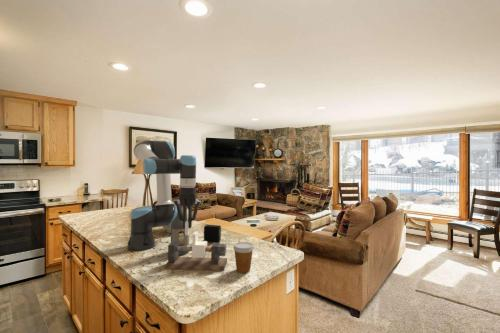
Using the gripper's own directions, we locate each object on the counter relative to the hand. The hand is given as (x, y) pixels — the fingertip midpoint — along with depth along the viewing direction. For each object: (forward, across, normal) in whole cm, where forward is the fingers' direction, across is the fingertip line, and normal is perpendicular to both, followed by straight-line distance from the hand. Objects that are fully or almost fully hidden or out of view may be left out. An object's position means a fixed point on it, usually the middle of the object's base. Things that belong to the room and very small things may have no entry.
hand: (187, 234), depth 121 cm
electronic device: (+16, +5, +37) cm, 40 cm away
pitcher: (+16, -27, +58) cm, 65 cm away
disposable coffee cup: (+15, +28, -4) cm, 32 cm away
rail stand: (+15, +5, 0) cm, 16 cm away
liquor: (+15, -9, +16) cm, 24 cm away
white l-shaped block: (+10, +6, 0) cm, 12 cm away
